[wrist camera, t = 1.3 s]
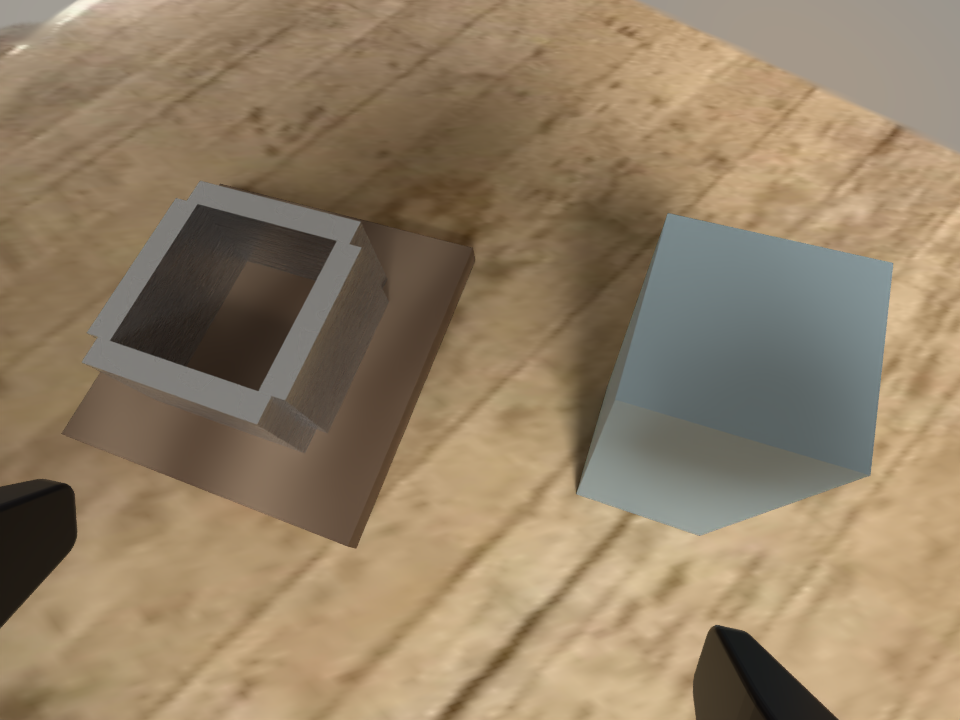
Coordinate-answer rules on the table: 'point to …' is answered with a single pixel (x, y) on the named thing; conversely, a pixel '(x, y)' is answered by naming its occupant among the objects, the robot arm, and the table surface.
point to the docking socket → (270, 353)
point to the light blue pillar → (740, 378)
